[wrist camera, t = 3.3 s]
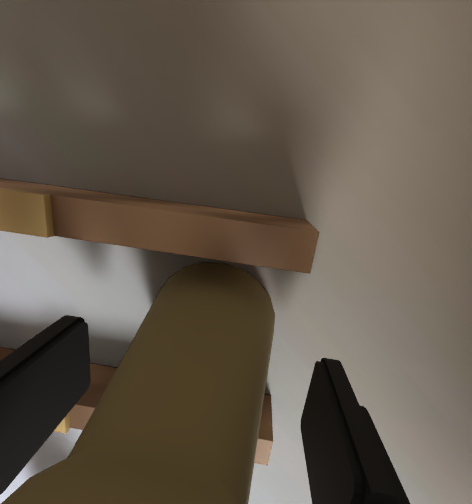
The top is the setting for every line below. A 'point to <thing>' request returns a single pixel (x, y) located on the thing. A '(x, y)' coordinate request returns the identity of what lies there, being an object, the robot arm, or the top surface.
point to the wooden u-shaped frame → (156, 249)
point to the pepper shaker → (176, 402)
